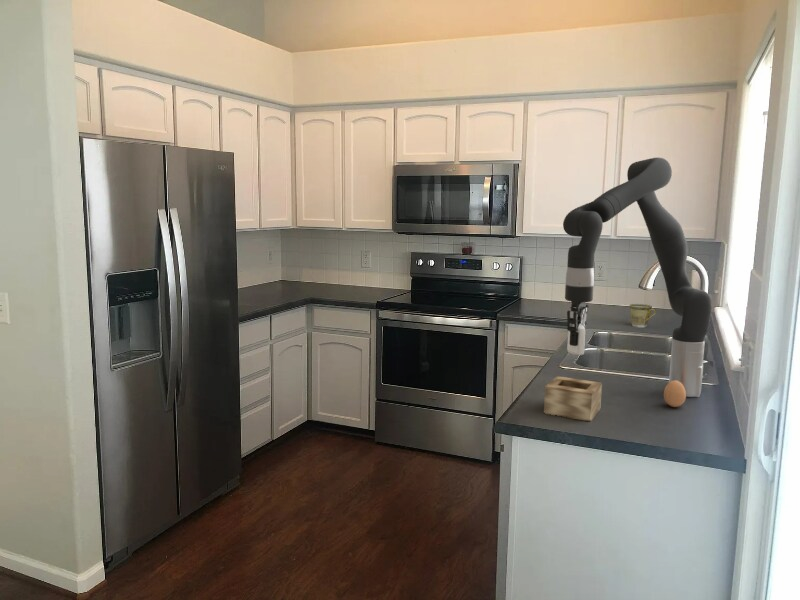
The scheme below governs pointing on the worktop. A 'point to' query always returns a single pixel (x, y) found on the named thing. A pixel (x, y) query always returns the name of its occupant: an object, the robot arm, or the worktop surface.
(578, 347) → the eye dropper bottle
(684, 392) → the egg
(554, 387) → the box
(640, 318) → the ceramic cup
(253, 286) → the worktop surface
